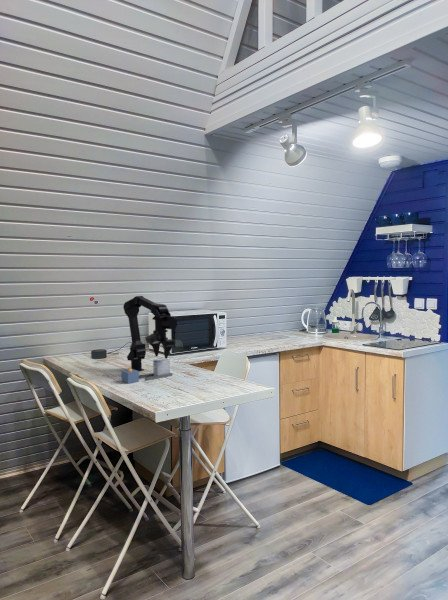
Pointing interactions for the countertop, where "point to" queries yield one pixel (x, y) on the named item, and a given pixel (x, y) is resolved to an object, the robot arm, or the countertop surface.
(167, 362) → the medicine box
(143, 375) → the rails
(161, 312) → the robot arm
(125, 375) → the blue hollow block
